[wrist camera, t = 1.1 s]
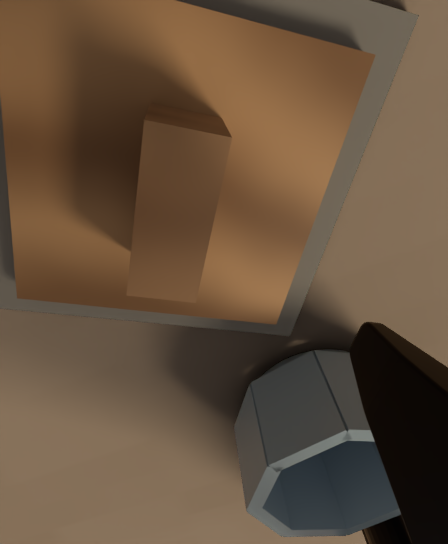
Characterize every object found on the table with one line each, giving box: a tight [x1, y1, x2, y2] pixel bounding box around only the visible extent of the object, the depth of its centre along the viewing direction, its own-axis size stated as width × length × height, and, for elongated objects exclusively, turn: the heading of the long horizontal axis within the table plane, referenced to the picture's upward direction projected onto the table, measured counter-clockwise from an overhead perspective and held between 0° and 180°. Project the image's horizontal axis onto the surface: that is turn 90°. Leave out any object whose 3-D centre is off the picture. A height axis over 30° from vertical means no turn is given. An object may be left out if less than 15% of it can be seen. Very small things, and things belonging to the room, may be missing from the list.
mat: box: [0, 0, 419, 336], centre depth 16 cm, size 15×15×1 cm
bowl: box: [234, 349, 401, 537], centre depth 22 cm, size 10×10×6 cm
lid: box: [0, 0, 376, 325], centre depth 14 cm, size 12×12×4 cm
